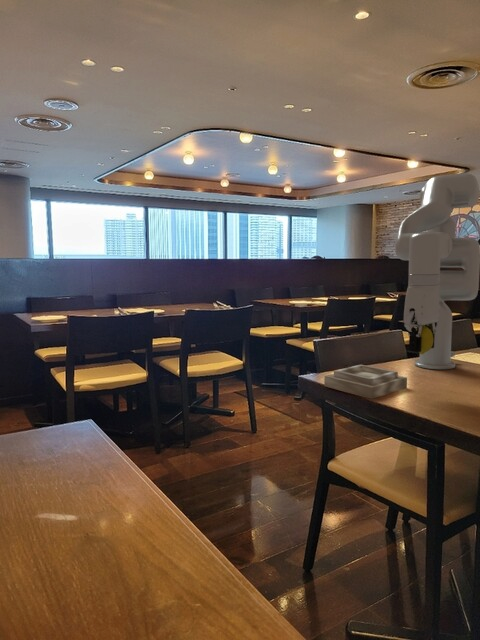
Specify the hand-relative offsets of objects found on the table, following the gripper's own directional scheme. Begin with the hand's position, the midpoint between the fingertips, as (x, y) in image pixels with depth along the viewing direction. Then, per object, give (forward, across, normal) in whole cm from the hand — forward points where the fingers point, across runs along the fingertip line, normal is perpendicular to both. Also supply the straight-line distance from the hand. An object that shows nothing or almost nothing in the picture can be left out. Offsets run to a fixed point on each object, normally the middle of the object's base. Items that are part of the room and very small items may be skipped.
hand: (421, 348), depth 122 cm
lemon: (+2, 0, 0) cm, 2 cm away
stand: (+12, +7, -12) cm, 19 cm away
